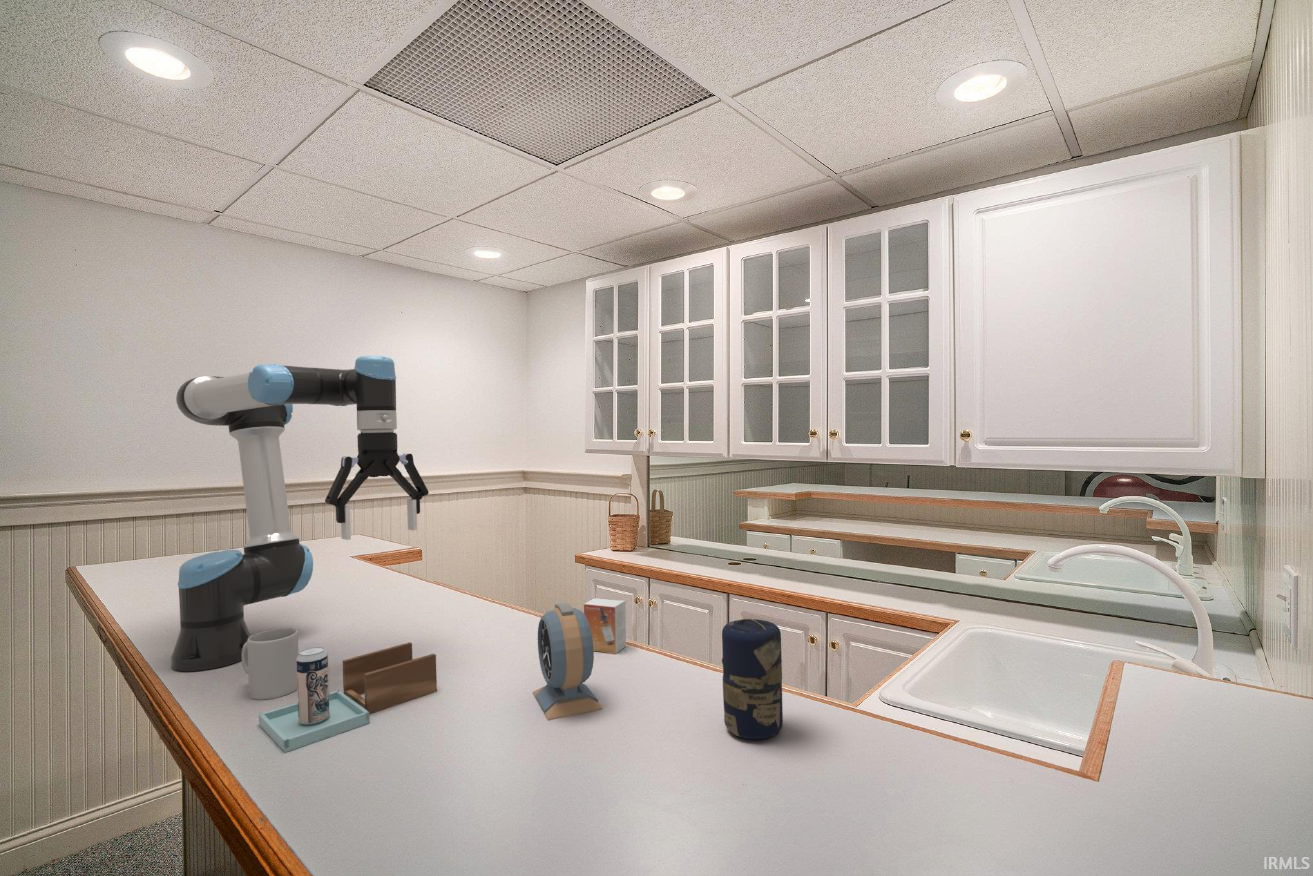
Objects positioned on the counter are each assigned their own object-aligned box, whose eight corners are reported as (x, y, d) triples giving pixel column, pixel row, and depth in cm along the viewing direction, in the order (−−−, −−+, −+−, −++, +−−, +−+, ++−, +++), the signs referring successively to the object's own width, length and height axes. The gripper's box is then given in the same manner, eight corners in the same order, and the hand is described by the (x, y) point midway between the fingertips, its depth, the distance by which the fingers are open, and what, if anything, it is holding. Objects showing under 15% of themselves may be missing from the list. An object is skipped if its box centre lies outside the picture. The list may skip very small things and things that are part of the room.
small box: (583, 650, 140) (582, 603, 140) (595, 642, 145) (594, 597, 145) (616, 654, 137) (614, 606, 137) (626, 646, 142) (625, 600, 142)
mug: (310, 684, 125) (308, 629, 125) (272, 702, 117) (270, 643, 116) (263, 678, 128) (261, 625, 128) (224, 695, 120) (222, 639, 120)
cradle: (343, 697, 118) (342, 660, 118) (410, 676, 127) (409, 642, 127) (367, 714, 110) (366, 675, 110) (436, 691, 120) (435, 654, 120)
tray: (259, 725, 107) (258, 714, 107) (339, 700, 117) (338, 690, 117) (284, 752, 98) (284, 741, 98) (369, 722, 107) (369, 712, 107)
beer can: (316, 728, 105) (313, 656, 104) (291, 725, 106) (289, 655, 105) (336, 715, 109) (334, 646, 109) (312, 713, 110) (310, 645, 110)
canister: (746, 750, 95) (743, 632, 95) (712, 724, 103) (710, 616, 103) (795, 734, 99) (793, 622, 99) (759, 711, 108) (757, 607, 108)
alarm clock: (531, 691, 119) (528, 598, 118) (581, 682, 123) (578, 592, 122) (549, 723, 106) (546, 618, 105) (604, 711, 109) (601, 610, 109)
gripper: (318, 432, 118) (322, 545, 118) (442, 430, 136) (445, 527, 136) (305, 433, 123) (308, 541, 123) (426, 430, 141) (429, 524, 141)
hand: (380, 534), depth 130 cm, fingers open, 13 cm apart
